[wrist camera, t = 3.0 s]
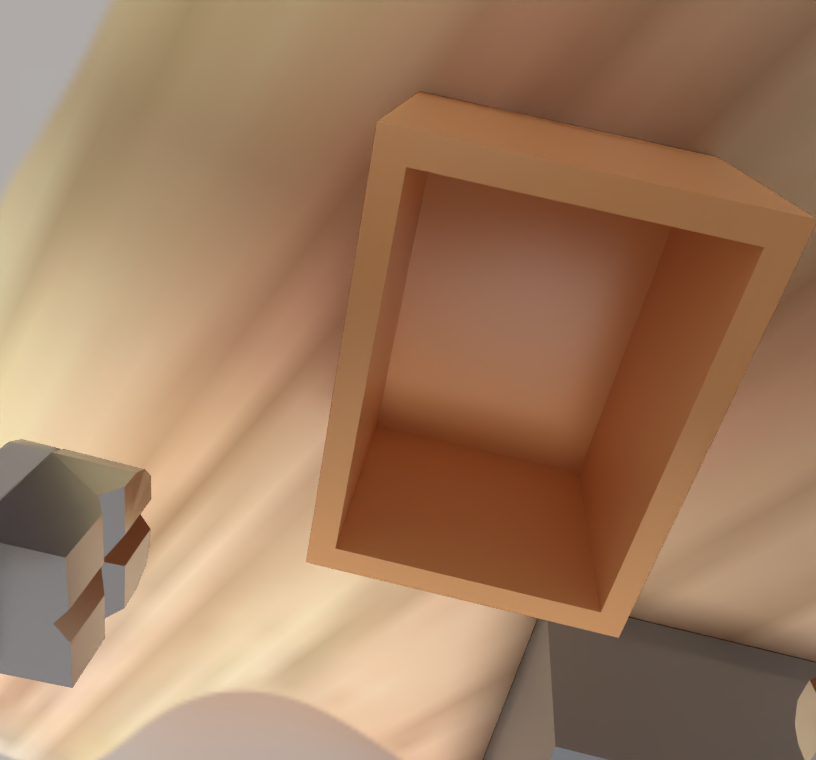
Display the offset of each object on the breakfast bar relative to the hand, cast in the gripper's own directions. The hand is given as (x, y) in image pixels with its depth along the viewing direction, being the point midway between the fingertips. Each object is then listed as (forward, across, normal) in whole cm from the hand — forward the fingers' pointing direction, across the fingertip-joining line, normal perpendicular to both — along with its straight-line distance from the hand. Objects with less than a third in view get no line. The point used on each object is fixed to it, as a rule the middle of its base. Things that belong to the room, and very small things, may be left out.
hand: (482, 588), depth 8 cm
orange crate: (+9, 0, 0) cm, 9 cm away
